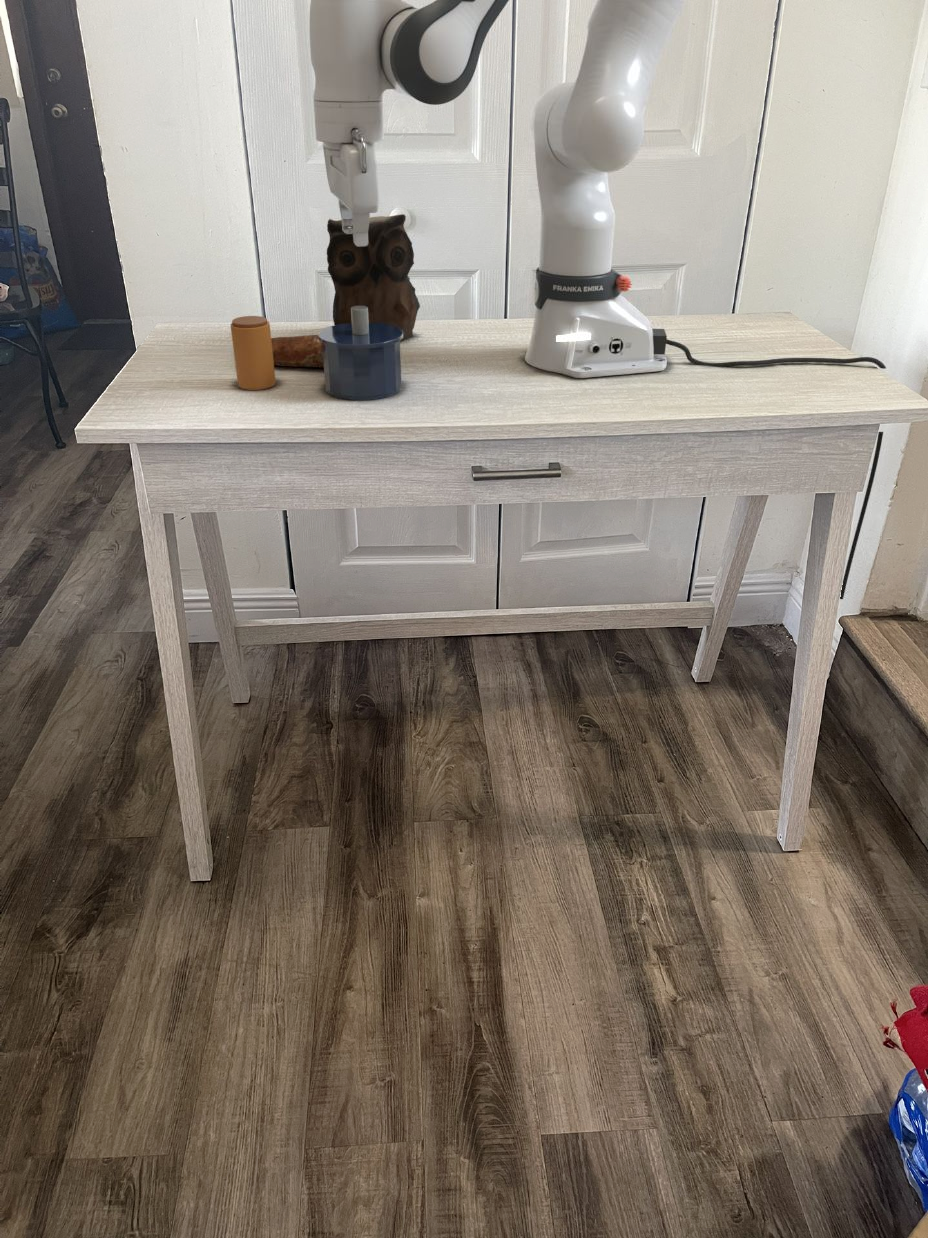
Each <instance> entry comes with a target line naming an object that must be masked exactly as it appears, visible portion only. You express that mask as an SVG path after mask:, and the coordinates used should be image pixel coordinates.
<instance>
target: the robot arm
mask: <svg viewBox="0 0 928 1238" xmlns="http://www.w3.org/2000/svg"><path fill="white" fill-rule="evenodd" d="M509 1H510V0H434V1H433V2H431V3H429V4H427V5H425V6H423V7H421V8H417V7H415V6H414V5H412V4H410V3H407V2H405V1H403V0H310V6H309V23H308V24H309V25H308V26H309V50H310V63H311V66H312V69H313V72H314V91H313V95H312V98H313V113H314V127H315V140H316V141H317V142H320V143H322V148H323V157H324V165H325V172H326V178H327V183H328V187H329V192H330V193H331V194H332V195H333V196H334V197H335V198H336V199H337V200H338V209H339V212H340V213H339V214H340V218H341V219H340V220H342V230H343V232H344V233H345V234H353V242H354V244H355V245H356V246H358V247H360V246H367V245H368V229H369V222H370V218H371V215H370V214H375V213H378V212H379V207H380V191H379V177H378V176H379V175H378V165H377V163H378V162H377V155H376V149H375V143H380V142H383V141H384V140H385V133H384V132H385V128H384V100H383V95H384V93H385V91H387V90H392V91H394V92H396V93H398V94H401V95H403V96H407V97H410V98H413V99H415V100H416V101H418V102H419V103H423V104H426V105H430V106H431V105H432V106H437V105H443V104H447V103H451V102H452V101H454V100H455V99H457V98H458V97H460V96H461V95H462V94H463V93H464V92H465V90H466V89H467V88H468V87H469V85H470V84H471V82H472V79H473V77H474V75H475V72H476V69H477V65H478V63H479V59H480V55H481V52H482V48H483V46H484V42H485V39H486V37H487V35H488V33H489V31H490V30H491V28H492V26H493V25H494V23H495V22H496V20H497V19H498V18H499V16H500V14H501V13H502V11H503V10H504V8H505V7H506V5H507V4H508V2H509ZM687 2H688V0H597V1H596V2H595V5H594V8H593V10H592V12H591V14H590V17H589V19H588V21H587V27H586V32H587V34H586V42H585V46H584V50H583V55H582V58H581V61H580V65H579V69H578V73H577V76H576V78H575V80H574V81H565V82H561V83H559V84H557V85H555V86H553V87H551V88H549V89H548V90H547V91H545V92H544V93H543V94H541V96H540V97H539V98H538V99H537V101H536V102H535V104H534V105H533V108H532V110H531V114H530V117H529V130H530V135H531V138H532V141H533V147H534V157H535V168H536V170H535V171H536V179H537V186H538V194H539V196H538V197H539V207H540V229H539V230H540V231H539V234H540V235H539V255H538V256H539V259H538V267H536V270H535V277H534V289H533V290H534V291H533V292H534V293H533V303H534V306H535V314H534V320H533V326H532V331H531V336H530V340H529V344H528V347H527V351H526V354H525V356H524V360H525V362H526V363H527V364H528V365H530V366H532V367H534V368H536V369H540V370H543V371H547V372H552V373H557V374H563V375H566V376H568V377H571V378H575V379H584V378H585V379H586V378H598V377H608V376H619V375H630V374H641V373H654V372H662V371H664V370H666V368H667V365H668V364H667V362H668V360H667V356H666V347H667V345H668V346H672V347H675V348H678V349H680V350H682V351H683V352H684V354H685V357H686V359H687V360H688V362H690V363H692V364H693V365H696V366H706V367H717V368H729V367H731V368H732V367H751V366H752V367H754V366H766V365H774V364H786V363H787V364H788V363H790V364H791V363H819V364H820V363H821V364H855V363H864V362H865V363H872V364H874V365H876V366H877V367H878V368H880V369H883V370H885V369H887V366H886V365H885V364H884V363H883V361H881V360H880V359H877V358H875V357H872V356H859V357H853V358H851V357H850V358H833V357H782V358H772V359H771V358H770V359H762V360H761V359H760V360H736V361H725V362H705V361H701V360H699V359H696V358H694V357H693V356H692V353H691V351H690V349H689V347H687V346H686V345H685V344H683V343H680V342H678V341H674V340H672V339H667V338H668V336H667V333H666V330H665V328H653V327H652V324H651V322H650V321H649V319H648V317H646V316H645V315H644V314H643V313H642V312H641V311H640V310H639V309H638V308H636V307H635V306H634V305H633V304H632V303H631V302H630V301H629V300H628V299H626V298H625V297H624V296H623V295H622V294H621V293H622V292H625V293H626V292H628V291H630V289H631V287H632V284H633V283H632V281H631V279H630V278H629V277H628V276H627V275H622V274H621V273H619V272H617V271H616V270H615V269H613V268H612V262H613V249H614V237H615V226H616V225H615V224H616V214H615V209H614V206H613V203H612V199H611V193H610V186H609V177H608V174H612V173H613V172H617V171H620V170H622V169H623V168H626V167H627V166H628V165H629V164H630V163H632V161H633V160H634V159H635V158H636V157H637V155H638V154H639V151H640V150H641V147H642V144H643V141H644V136H645V120H644V115H645V112H646V108H647V104H648V100H649V97H650V93H651V89H652V85H653V82H654V78H655V75H656V71H657V68H658V66H659V63H660V60H661V58H662V55H663V54H664V50H665V48H666V47H667V44H668V42H669V40H670V38H671V35H672V33H673V32H674V29H675V28H676V25H677V22H678V20H679V18H680V17H681V14H682V13H683V10H684V8H685V6H686V3H687ZM883 437H884V431H878V433H877V440H876V445H875V451H874V454H873V455H874V456H873V460H872V466H871V470H870V474H869V477H868V483H867V486H866V490H865V495H864V499H863V502H862V506H861V510H860V513H859V517H858V521H857V525H856V528H855V532H854V535H853V540H852V544H851V548H850V551H849V555H848V559H847V562H846V567H845V572H844V575H843V578H842V583H843V585H842V584H841V587H842V590H841V589H840V592H841V597H840V599H839V600H844V597H845V593H846V589H847V584H848V580H849V576H850V572H851V567H852V564H853V561H854V560H853V559H854V556H855V552H856V549H857V545H858V542H859V541H858V540H859V537H860V533H861V529H862V526H863V523H864V518H865V514H866V511H867V507H868V504H869V500H870V496H871V492H872V488H873V485H874V480H875V477H876V476H875V475H876V471H877V467H878V463H879V458H880V453H881V448H882V443H883Z"/></svg>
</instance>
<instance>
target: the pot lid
mask: <svg viewBox="0 0 928 1238" xmlns="http://www.w3.org/2000/svg"><path fill="white" fill-rule="evenodd" d="M351 317H352V323H345V324H339V325H334V324H333V325H329V326H328V327H324V328H323V329H321V330H320V331H319V332H318V333H317V335H318V337H319V341H320V342H322V343H323V344H326V345H328V346H332V347H337V348H346V349H369V348H378V347H384V346H388V345H392V344H395V343H397V342H399V341H400V342H402V341H401V340H402V338H403V331H402V330H401V329H400V328H398V327H395V326H392V325H388V324H383V323H372V322H369V320H368V307H366V306H353V307H351Z"/></svg>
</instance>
